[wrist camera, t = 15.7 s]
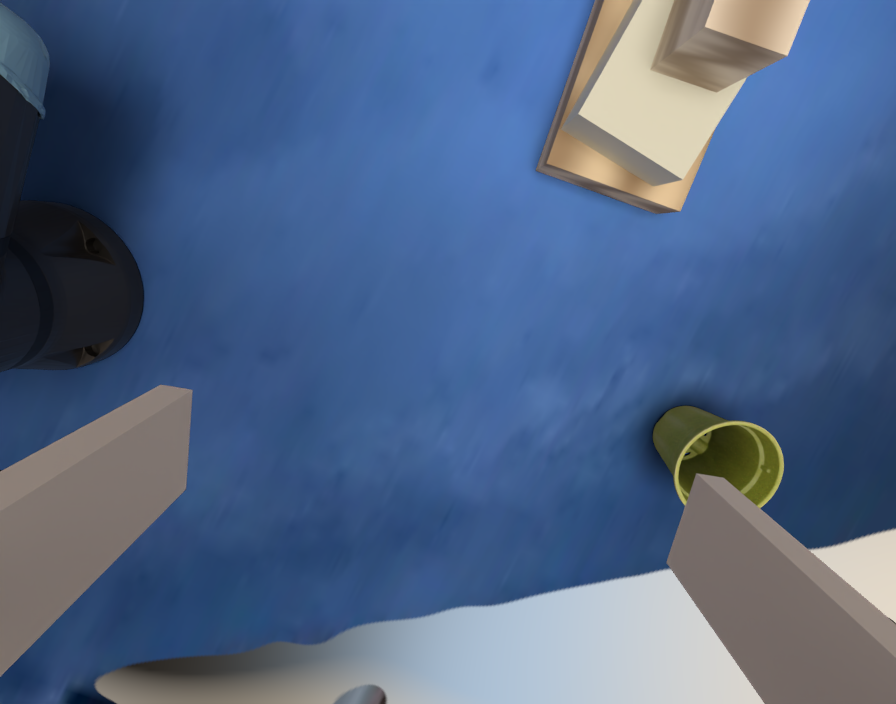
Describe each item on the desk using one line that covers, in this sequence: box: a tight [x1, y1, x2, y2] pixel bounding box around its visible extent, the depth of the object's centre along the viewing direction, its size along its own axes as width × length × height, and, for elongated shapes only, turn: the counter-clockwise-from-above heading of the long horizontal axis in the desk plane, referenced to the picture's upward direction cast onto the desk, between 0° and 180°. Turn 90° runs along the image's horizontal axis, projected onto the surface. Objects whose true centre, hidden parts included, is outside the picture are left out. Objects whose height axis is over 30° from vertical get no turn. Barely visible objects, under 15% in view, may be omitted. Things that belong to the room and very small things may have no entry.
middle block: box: [561, 0, 747, 187], centre depth 35 cm, size 9×15×5 cm, turn 151°
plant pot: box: [653, 406, 784, 508], centre depth 46 cm, size 9×9×9 cm
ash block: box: [650, 0, 810, 93], centre depth 29 cm, size 5×5×7 cm
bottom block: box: [536, 0, 715, 214], centre depth 40 cm, size 12×18×5 cm, turn 162°
